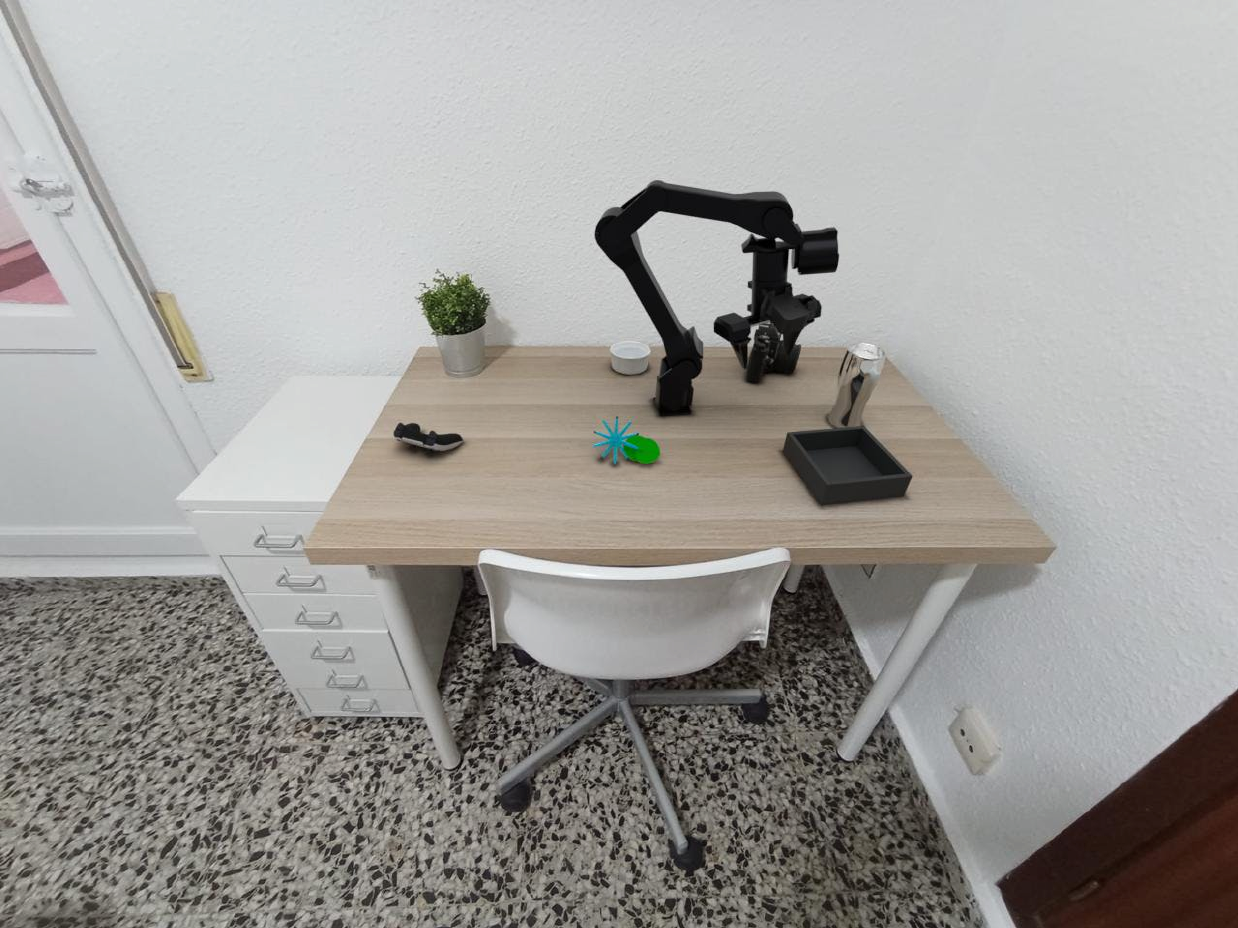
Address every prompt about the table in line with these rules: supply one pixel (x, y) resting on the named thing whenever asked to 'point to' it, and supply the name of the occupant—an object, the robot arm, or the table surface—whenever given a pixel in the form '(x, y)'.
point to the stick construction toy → (630, 445)
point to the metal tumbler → (856, 383)
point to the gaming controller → (426, 438)
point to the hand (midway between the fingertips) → (765, 361)
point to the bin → (845, 465)
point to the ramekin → (629, 357)
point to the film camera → (769, 354)
